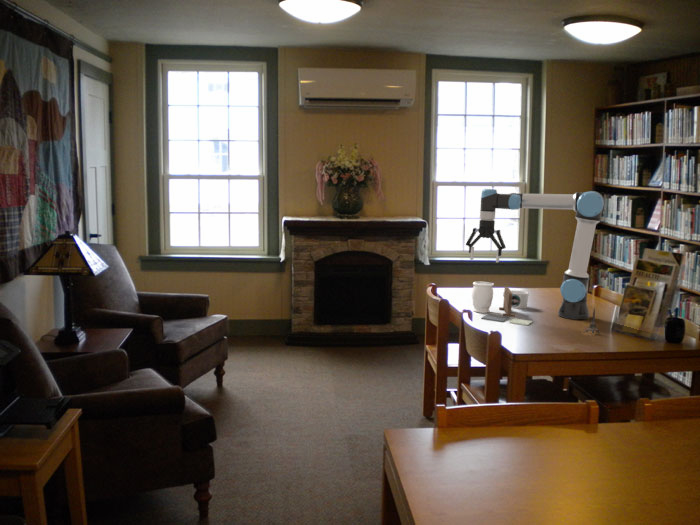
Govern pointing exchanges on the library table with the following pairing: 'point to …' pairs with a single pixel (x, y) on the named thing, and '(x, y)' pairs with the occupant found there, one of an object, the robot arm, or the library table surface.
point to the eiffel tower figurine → (592, 324)
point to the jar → (482, 296)
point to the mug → (519, 299)
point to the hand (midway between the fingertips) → (484, 261)
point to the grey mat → (495, 317)
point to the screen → (507, 303)
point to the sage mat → (520, 321)
